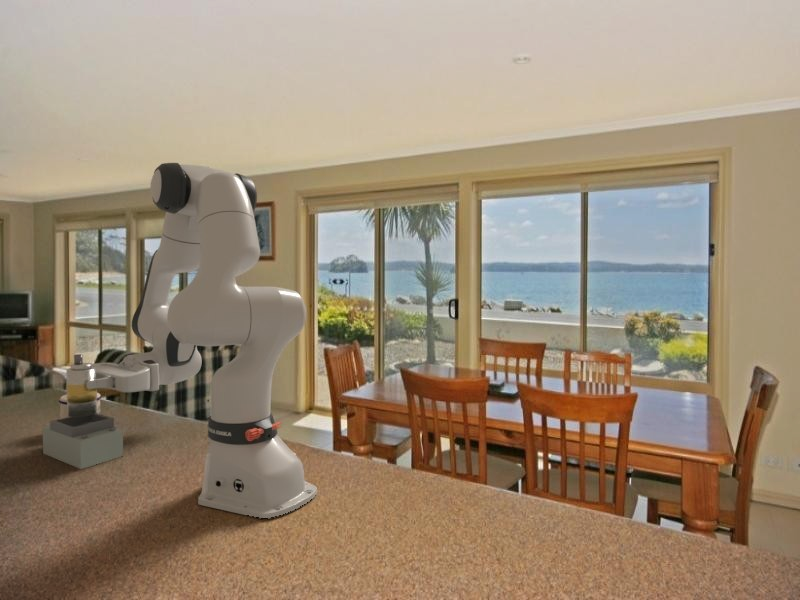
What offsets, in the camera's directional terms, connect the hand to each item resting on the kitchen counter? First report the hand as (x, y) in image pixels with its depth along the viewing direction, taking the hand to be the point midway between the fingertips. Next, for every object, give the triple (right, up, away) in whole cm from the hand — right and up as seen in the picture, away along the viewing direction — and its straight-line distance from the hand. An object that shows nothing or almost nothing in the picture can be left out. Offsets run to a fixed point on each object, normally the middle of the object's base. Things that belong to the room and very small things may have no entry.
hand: (77, 382), depth 116 cm
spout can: (0, -7, +1) cm, 7 cm away
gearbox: (-2, -16, +3) cm, 17 cm away
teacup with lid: (-10, -15, +19) cm, 26 cm away
